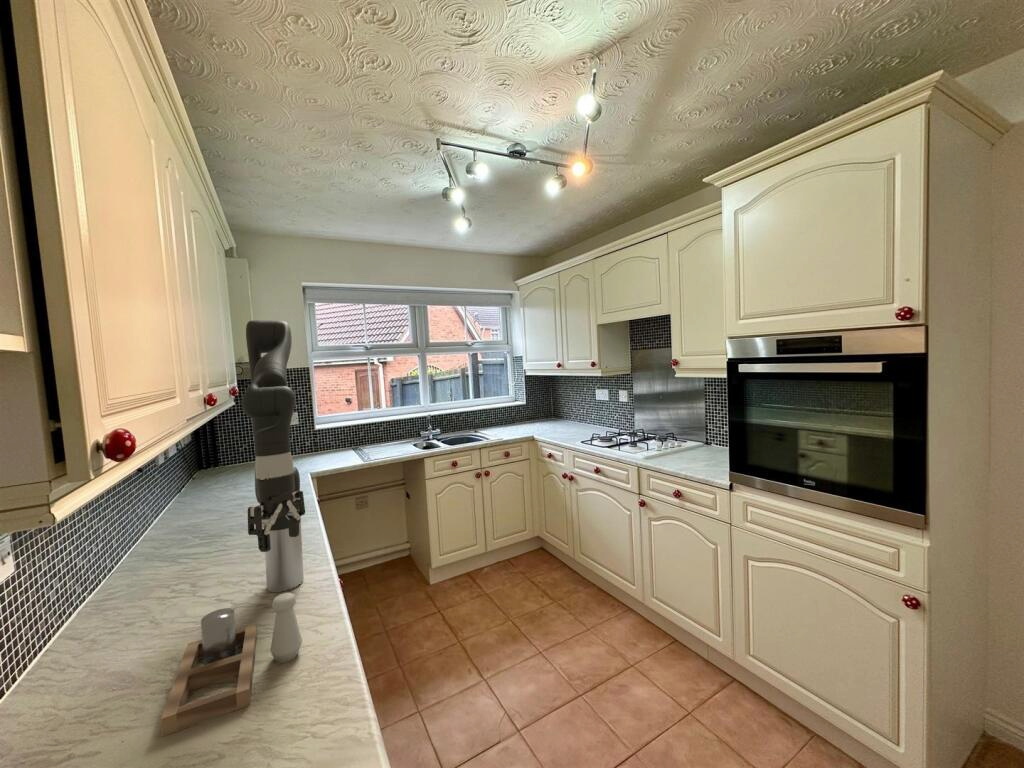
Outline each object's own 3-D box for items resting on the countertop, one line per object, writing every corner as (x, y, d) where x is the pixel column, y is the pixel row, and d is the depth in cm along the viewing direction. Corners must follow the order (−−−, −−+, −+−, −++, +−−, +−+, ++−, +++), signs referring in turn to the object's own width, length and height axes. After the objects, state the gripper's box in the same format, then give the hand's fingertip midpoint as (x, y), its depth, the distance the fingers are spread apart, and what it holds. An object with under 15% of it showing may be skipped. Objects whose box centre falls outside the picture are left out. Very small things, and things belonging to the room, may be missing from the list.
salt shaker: (295, 643, 91) (292, 585, 90) (307, 654, 87) (304, 594, 87) (266, 658, 86) (263, 597, 86) (277, 670, 83) (274, 607, 82)
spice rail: (188, 657, 87) (187, 643, 87) (257, 637, 93) (256, 624, 93) (162, 736, 68) (160, 718, 68) (250, 704, 74) (249, 688, 74)
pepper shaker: (206, 659, 86) (203, 613, 86) (238, 650, 89) (235, 605, 89) (201, 676, 81) (198, 627, 81) (235, 666, 84) (232, 618, 84)
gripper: (284, 467, 102) (289, 532, 102) (234, 481, 88) (240, 556, 88) (310, 466, 100) (315, 532, 100) (263, 480, 87) (269, 557, 86)
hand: (280, 543), depth 94 cm, fingers open, 8 cm apart
